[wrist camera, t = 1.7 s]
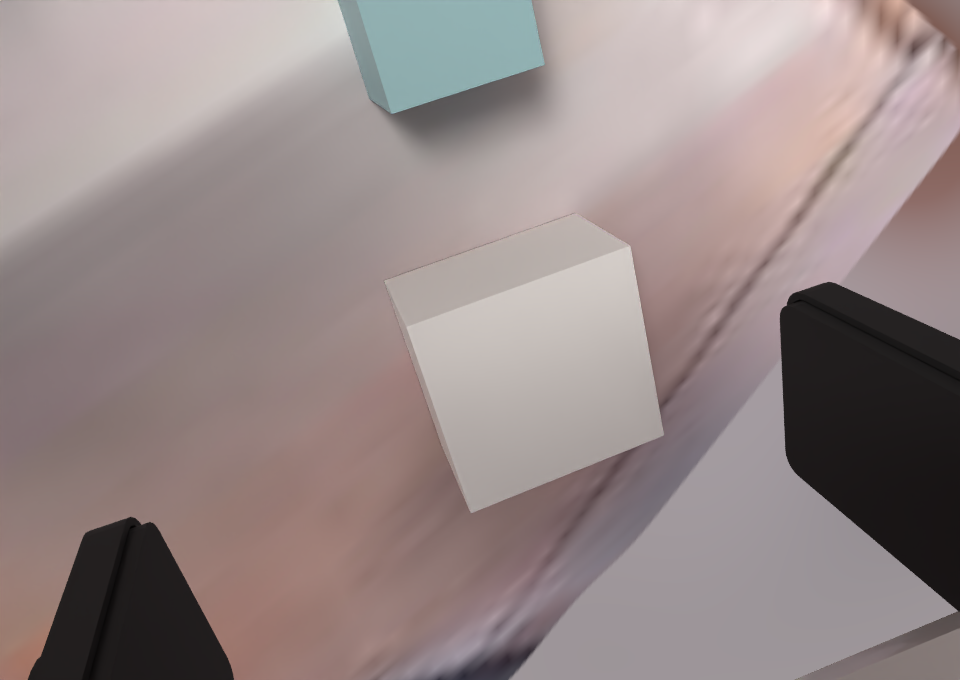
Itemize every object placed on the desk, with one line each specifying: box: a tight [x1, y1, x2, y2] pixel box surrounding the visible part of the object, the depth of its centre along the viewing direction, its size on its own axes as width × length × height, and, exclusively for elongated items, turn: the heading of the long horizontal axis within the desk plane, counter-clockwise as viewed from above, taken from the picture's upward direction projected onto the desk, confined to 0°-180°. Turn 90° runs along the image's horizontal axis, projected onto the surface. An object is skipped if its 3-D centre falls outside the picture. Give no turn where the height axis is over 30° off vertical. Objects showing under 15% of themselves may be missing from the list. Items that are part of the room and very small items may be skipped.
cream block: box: [384, 213, 664, 513], centre depth 35 cm, size 10×10×6 cm
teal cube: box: [338, 0, 545, 114], centre depth 28 cm, size 6×6×6 cm
